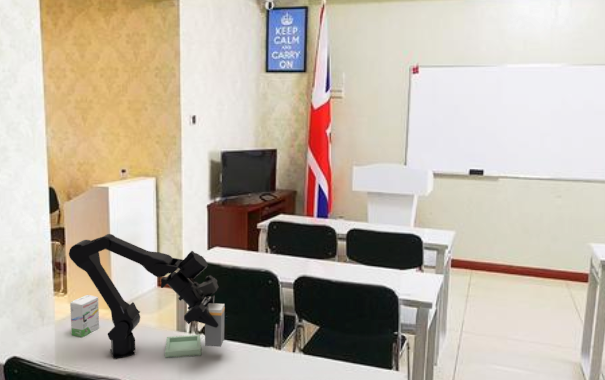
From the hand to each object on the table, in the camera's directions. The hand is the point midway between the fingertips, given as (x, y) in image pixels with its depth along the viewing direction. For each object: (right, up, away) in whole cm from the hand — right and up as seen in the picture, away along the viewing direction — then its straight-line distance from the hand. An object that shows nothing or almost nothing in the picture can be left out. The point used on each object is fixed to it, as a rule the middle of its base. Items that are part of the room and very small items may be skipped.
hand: (219, 323), depth 160 cm
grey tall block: (-2, -6, +1) cm, 7 cm away
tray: (-13, -10, +7) cm, 18 cm away
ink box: (-49, -8, +18) cm, 53 cm away
